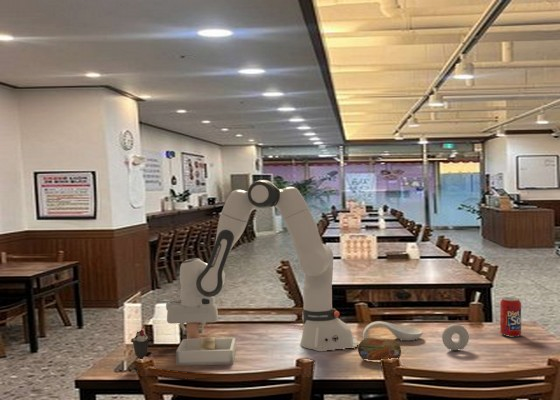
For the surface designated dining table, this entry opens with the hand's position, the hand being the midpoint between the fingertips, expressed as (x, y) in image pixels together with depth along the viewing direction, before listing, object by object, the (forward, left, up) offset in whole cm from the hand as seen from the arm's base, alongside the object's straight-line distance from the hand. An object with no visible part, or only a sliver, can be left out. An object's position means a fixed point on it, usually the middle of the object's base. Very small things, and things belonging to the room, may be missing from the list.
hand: (193, 333), depth 230 cm
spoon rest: (-80, +1, -5) cm, 80 cm away
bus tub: (-8, +19, -4) cm, 21 cm away
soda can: (-128, 0, -4) cm, 128 cm away
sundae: (+14, +28, -4) cm, 32 cm away
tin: (-70, +28, -4) cm, 75 cm away
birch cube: (-8, +15, -3) cm, 17 cm away
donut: (-100, +18, -4) cm, 101 cm away
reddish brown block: (0, 0, -3) cm, 3 cm away
